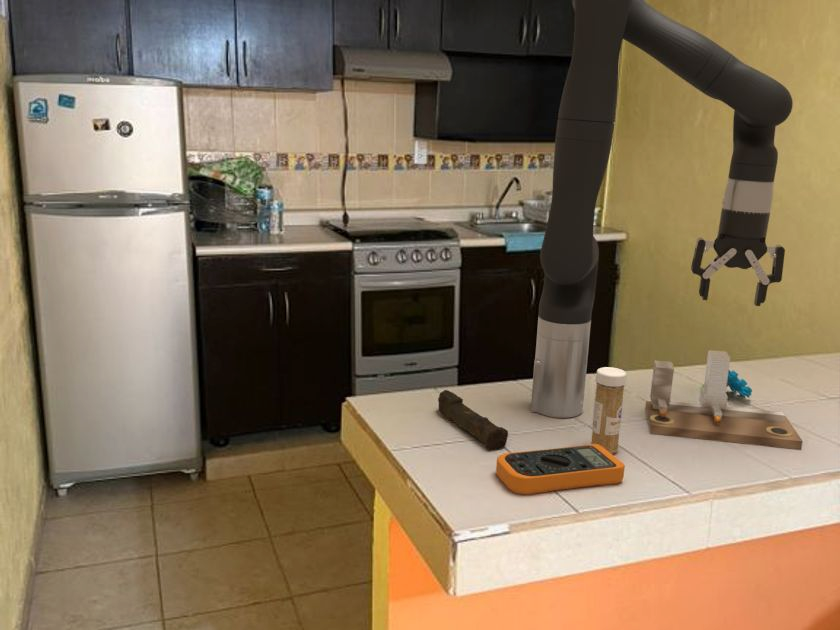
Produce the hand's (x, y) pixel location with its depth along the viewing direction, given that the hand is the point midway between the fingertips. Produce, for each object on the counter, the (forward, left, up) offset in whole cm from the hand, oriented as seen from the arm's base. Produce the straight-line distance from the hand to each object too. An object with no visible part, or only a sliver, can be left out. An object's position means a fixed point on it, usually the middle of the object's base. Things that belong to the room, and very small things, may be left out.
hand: (730, 302), depth 134 cm
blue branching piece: (+4, +15, -22) cm, 27 cm away
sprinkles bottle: (-20, -18, -22) cm, 35 cm away
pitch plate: (0, -3, -22) cm, 22 cm away
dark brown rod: (-43, -16, -22) cm, 51 cm away
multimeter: (-27, -30, -23) cm, 46 cm away
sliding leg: (-1, -2, -20) cm, 20 cm away
